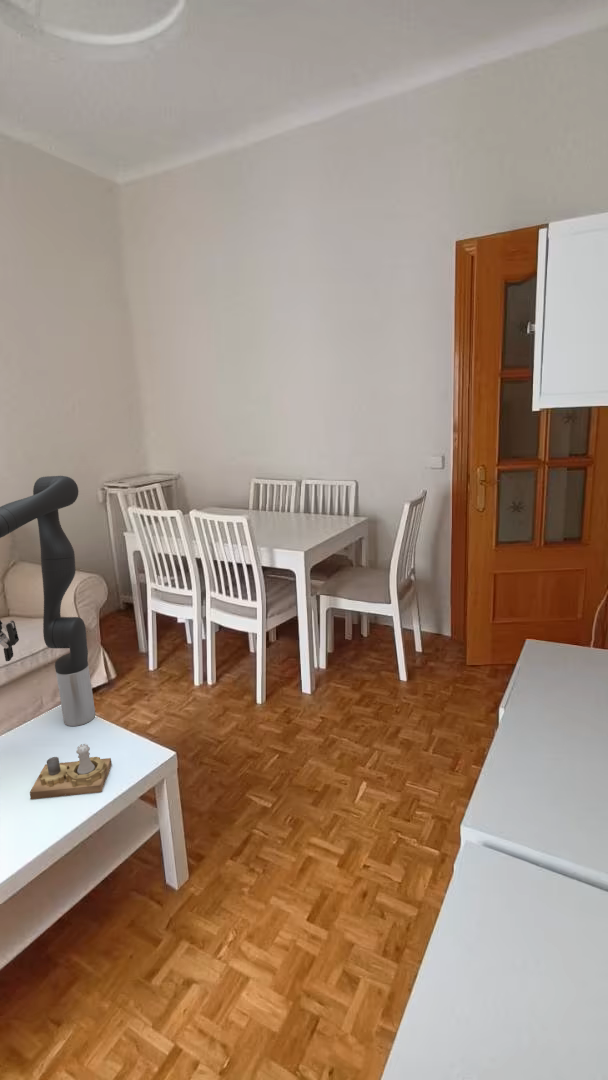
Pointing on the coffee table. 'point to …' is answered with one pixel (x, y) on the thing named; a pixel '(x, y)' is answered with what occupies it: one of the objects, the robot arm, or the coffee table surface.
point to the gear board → (68, 785)
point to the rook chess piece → (84, 760)
